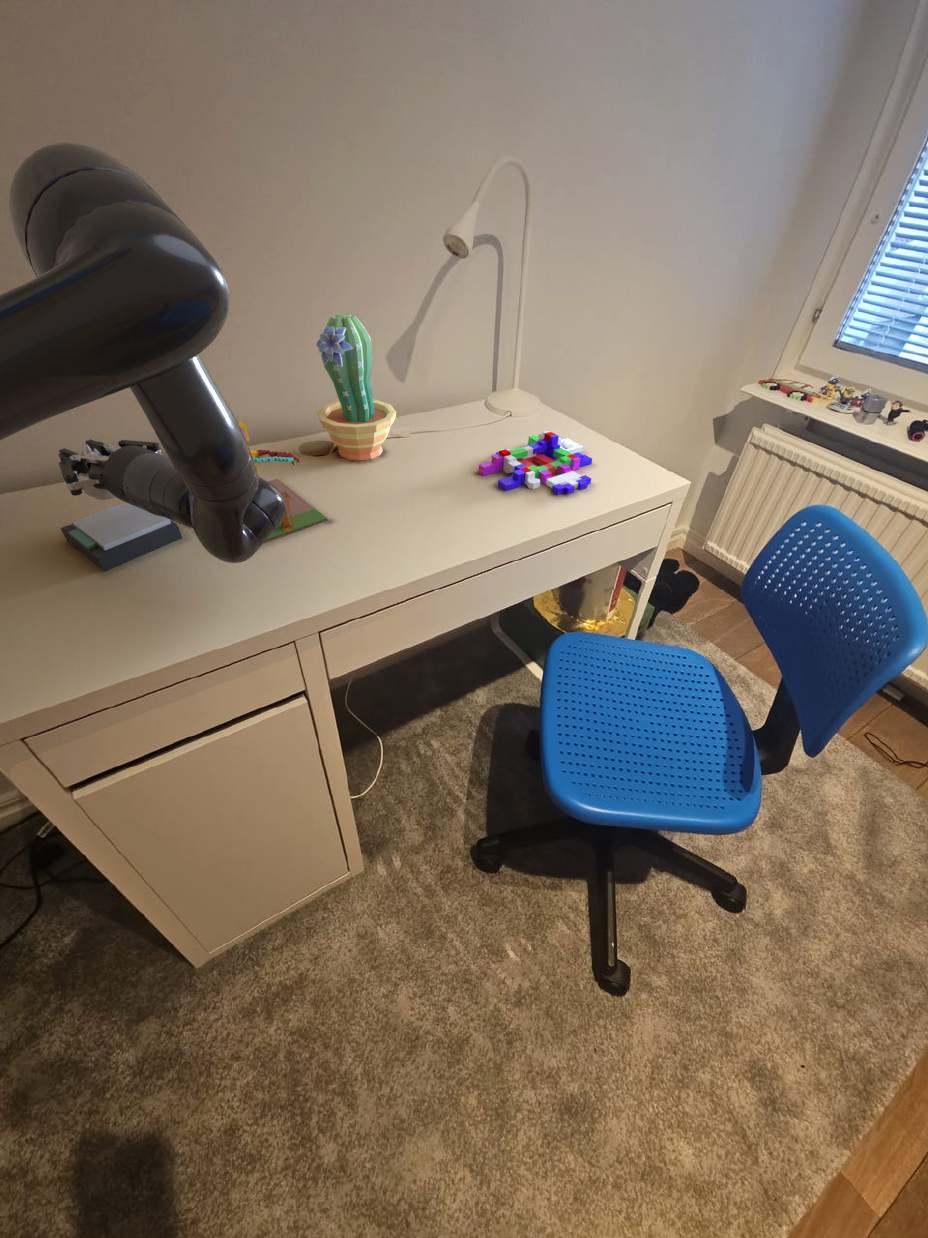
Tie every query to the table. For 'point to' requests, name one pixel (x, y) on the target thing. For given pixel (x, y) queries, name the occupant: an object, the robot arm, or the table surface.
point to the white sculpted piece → (91, 490)
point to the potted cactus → (352, 391)
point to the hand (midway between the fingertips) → (77, 451)
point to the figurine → (287, 495)
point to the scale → (120, 534)
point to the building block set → (544, 454)
